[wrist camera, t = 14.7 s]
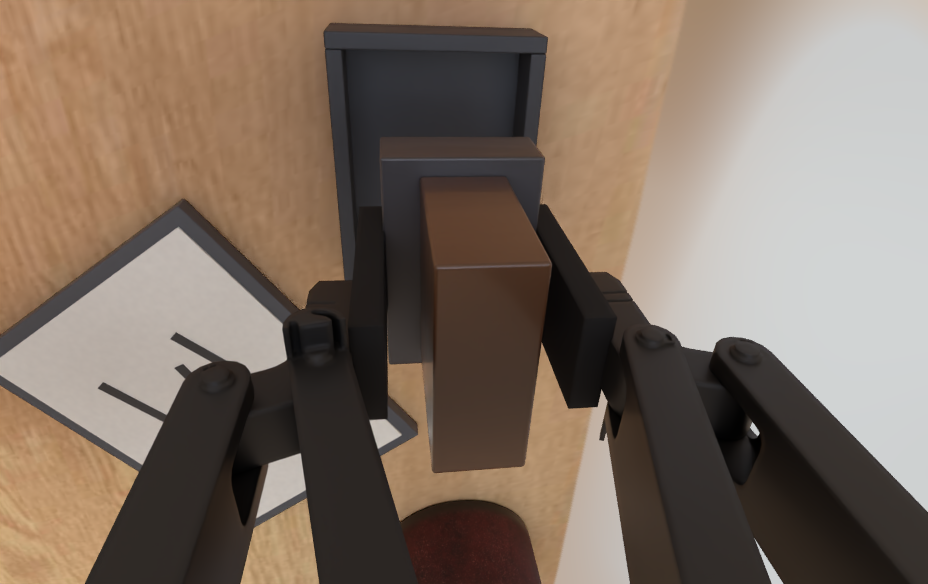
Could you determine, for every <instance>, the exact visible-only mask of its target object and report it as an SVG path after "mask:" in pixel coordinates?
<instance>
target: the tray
mask: <svg viewBox="0 0 928 584" xmlns="http://www.w3.org/2000/svg"><path fill="white" fill-rule="evenodd" d="M547 42H548V37H546V36H544V35H542V34H540V33H539V32H537V31H535V30H533V29H526V28H490V27H454V26H419V25H383V24H348V23H330V24H329V25H328V26H327V28H326V29H325V31H324V45H325V57H326V69H327V80H328V92H329V104H330V115H331V127H332V138H333V150H334V162H335V173H336V185H337V197H338V208H339V220H340V231H341V243H342V255H343V266H344V278H345V280H352V278H353V268H354V258H355V248H356V238H357V227H358V217H359V207H361V206H382V201H381V179H380V138H381V137H529V138H530V139H531V140H532V142H533V143H534V144H535V146H536V145H537V135H538V126H539V117H540V107H541V98H542V89H543V80H544V70H545V61H546V52H547Z"/></svg>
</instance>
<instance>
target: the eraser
mask: <svg viewBox="0 0 928 584" xmlns="http://www.w3.org/2000/svg"><path fill="white" fill-rule="evenodd" d="M544 163H545V158H544V156H543V155H542V154H541V152H540V151H539V150H538V148H537V147H536V146H535V144H534V143H533V142H532V140H531V139H530V138H529V137H381V138H380V179H381V201H382V223H383V231H384V246H385V270H386V295H387V333H388V355H389V363H390V364H409V363H422V369H423V380H424V390H425V401H426V412H427V423H428V433H429V444H430V455H431V465H432V471H433V472H434V473H443V472H456V471H469V470H483V469H496V468H509V467H522V466H524V465H525V459H526V452H527V445H528V437H529V430H530V423H531V416H532V408H533V401H534V394H535V386H536V379H537V372H538V364H539V357H540V350H541V342H542V335H543V328H544V321H545V313H546V306H547V299H548V291H549V284H550V277H551V269H552V263H551V261H550V259H549V257H548V255H547V253H546V251H545V249H544V247H543V245H542V244H541V242H540V240H539V238H538V236H537V234H536V229H537V223H538V215H539V206H540V198H541V189H542V180H543V172H544Z"/></svg>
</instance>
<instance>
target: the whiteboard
mask: <svg viewBox="0 0 928 584" xmlns="http://www.w3.org/2000/svg"><path fill="white" fill-rule="evenodd" d="M297 311H299V309H298V308H297V307H295V306H294V305H293V304H292V303H291V302H290V301H289V300H288V299H287V298H286V297H285V296H284V295H283V294H282V293H281V292H280V291H279V290H278V289H277V288H276V287H275V286H274V285H273V284H272V283H271V282H270V281H269V280H268V279H266V278H265V277H264V276H263V275H262V274H261V273H260V272H259V271H258V270H257V269H256V268H255V267H254V266H253V265H252V264H251V263H250V262H249V261H248V260H247V259H246V258H245V257H244V256H243V255H242V254H241V253H240V252H239V251H238V250H236V249H235V248H234V247H233V246H232V245H231V244H230V243H229V242H228V241H227V240H226V239H225V238H224V237H223V236H222V235H221V234H220V233H219V232H218V231H217V230H216V229H215V228H214V227H213V226H212V225H211V224H210V223H209V222H207V221H206V220H205V219H204V218H203V217H202V216H201V215H200V214H199V213H198V212H197V211H196V210H195V209H194V208H193V207H192V206H191V205H190V204H189V203H188V202H187V201H186V200H185V199H182V200H181V201H179V202H178V203H177V204H175V205H174V206H173V207H171V208H170V209H169V210H167V211H166V212H165V213H163V214H162V215H161V216H159V217H158V218H157V219H155V220H154V221H153V222H151V223H150V224H149V225H147V226H146V227H145V228H143V229H142V230H141V231H139V232H138V233H137V234H135V235H134V236H133V237H131V238H130V239H129V240H127V241H126V242H125V243H123V244H122V245H120V246H119V247H118V248H116V249H115V250H114V251H112V252H111V253H110V254H108V255H107V256H106V257H104V258H103V259H102V260H100V261H99V262H98V263H96V264H95V265H94V266H92V267H91V268H90V269H88V270H87V271H86V272H84V273H83V274H82V275H80V276H79V277H78V278H76V279H75V280H74V281H72V282H71V283H70V284H68V285H67V286H66V287H64V288H63V289H62V290H60V291H59V292H58V293H56V294H55V295H54V296H52V297H51V298H49V299H48V300H47V301H45V302H44V303H43V304H41V305H40V306H39V307H37V308H36V309H35V310H33V311H32V312H31V313H29V314H28V315H27V316H25V317H24V318H23V319H21V320H20V321H19V322H17V323H16V324H15V325H13V326H12V327H11V328H9V329H8V330H7V331H5V332H4V333H3V334H1V335H0V385H1V386H2V387H4V388H5V389H7V390H9V391H10V392H12V393H13V394H15V395H17V396H18V397H20V398H22V399H23V400H25V401H26V402H28V403H30V404H31V405H33V406H34V407H36V408H38V409H39V410H41V411H42V412H44V413H46V414H47V415H49V416H50V417H52V418H54V419H55V420H57V421H58V422H60V423H62V424H63V425H65V426H67V427H68V428H70V429H71V430H73V431H75V432H76V433H78V434H79V435H81V436H83V437H84V438H86V439H87V440H89V441H91V442H92V443H94V444H95V445H97V446H99V447H100V448H102V449H103V450H105V451H107V452H108V453H110V454H112V455H113V456H115V457H116V458H118V459H120V460H121V461H123V462H124V463H126V464H128V465H129V466H131V467H132V468H134V469H136V470H137V471H140V469H141V467H142V465H143V463H144V461H145V459H146V457H147V455H148V453H149V451H150V449H151V447H152V445H153V442H154V440H155V438H156V436H157V434H158V432H159V430H160V428H161V426H162V424H163V422H164V420H165V418H166V416H167V414H168V412H169V410H170V408H171V405H172V403H173V401H174V399H175V397H176V395H177V393H178V391H179V389H180V387H181V385H182V383H183V381H184V380H185V379H186V377H187V376H188V375H189V374H190V373H191V372H193V371H194V370H196V369H197V368H199V367H201V366H204V365H206V364H209V363H212V362H218V361H237V362H239V363H241V364H243V365H245V366H246V367H247V368H248V369H249V371H250V373H254V372H258V371H262V370H266V369H269V368H272V367H275V366H277V365H279V364H281V363H283V362H285V361H286V360H287V356H286V350H285V344H284V338H283V332H282V327H283V322H284V321H285V320H286V319H287V318H288V316H289V315H291V314H293V313H295V312H297ZM369 421H370V424H371V427H372V431H373V434H374V437H375V441H376V444H377V447H378V451H379V454H380V456H381V455H383V454H385V453H386V452H388V451H390V450H392V449H394V448H395V447H397V446H399V445H401V444H402V443H404V442H406V441H408V440H409V439H411V438H413V437H415V436H416V435H418V427H417V423H416V422H415V421H413V420H412V419H411V418H410V417H409V416H408V415H407V414H406V413H405V412H404V411H403V410H402V409H401V408H400V407H399V406H398V405H397V404H396V403H395V402H394V401H393V400H392V399H391V398H390V397H389V396H388V419H381V420H369ZM305 498H307V494H306V487H305V480H304V473H303V466H302V459H301V453H300V454H297V455H294V456H291V457H287V458H284V459H281V460H278V461H275V462H272V463H269V464H268V471H267V475H266V479H265V483H264V488H263V492H262V496H261V500H260V504H259V508H258V512H257V516H256V521H255V525H254V527H256V526H258V525H260V524H261V523H263V522H265V521H267V520H268V519H270V518H272V517H274V516H275V515H277V514H279V513H281V512H282V511H284V510H286V509H288V508H290V507H291V506H293V505H295V504H297V503H298V502H300V501H302V500H304V499H305Z"/></svg>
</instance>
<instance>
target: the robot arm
mask: <svg viewBox="0 0 928 584" xmlns="http://www.w3.org/2000/svg"><path fill="white" fill-rule="evenodd" d="M536 234H537V236H538V238H539V240H540V242H541V244H542V245H543V247H544V249H545V251H546V253H547V255H548V257H549V259H550V261H551V263H552V269H551V277H550V284H549V291H548V299H547V306H546V313H545V321H544V328H543V335H542V343H543V346H544V348H545V351H546V354H547V356H548V359H549V361H550V364H551V366H552V369H553V371H554V374H555V376H556V379H557V381H558V384H559V386H560V389H561V391H562V394H563V396H564V399H565V401H566V404H567V406H568V409H570V408H588V407H598V402H599V398H600V394H601V389H602V391H603V393H604V395H605V397H606V399H607V401H608V402H607V407H606V411H605V415H604V419H603V424H602V428H601V432H600V439H599V440H602V441H604V438H605V434H606V433H607V437H608V444H609V450H610V457H611V463H612V470H613V476H614V482H615V488H616V496H617V502H618V508H619V515H620V521H621V528H622V534H623V541H624V546H625V554H626V560H627V567H628V573H629V580H630V584H771V581H770V578H769V576H768V573H767V571H766V568H765V565H764V563H763V560H762V557H761V555H760V552H759V549H758V547H757V544H756V541H757V543H758V544H759V546H760V548H761V549H762V551H763V552H764V554H765V555H766V557H767V558H768V560H769V562H770V563H771V564H772V566H773V568H774V569H775V571H776V572H777V574H778V576H779V577H780V579H781V580H782V582H783V583H784V584H928V512H927V511H926V510H925V509H924V508H923V507H922V506H921V505H920V504H919V503H918V502H917V501H916V500H915V499H914V498H913V497H912V495H911V494H910V493H909V492H908V491H906V489H905V488H904V487H903V486H902V485H901V484H900V483H899V482H898V481H897V480H896V479H895V478H894V477H893V476H892V475H891V474H890V473H889V472H888V471H887V470H886V469H885V468H884V467H883V466H882V465H881V464H880V463H879V462H878V461H877V460H876V459H875V458H874V457H873V456H872V455H871V454H870V453H869V452H868V450H867V449H866V448H865V447H864V446H863V445H862V444H861V443H860V442H859V441H858V440H857V439H856V438H855V437H854V436H853V435H852V434H851V433H850V432H849V431H848V430H847V429H846V428H845V427H844V426H843V425H842V424H841V423H840V422H839V421H838V420H837V419H836V418H835V417H834V416H833V415H832V414H831V413H830V412H829V411H828V410H827V409H826V408H825V406H823V405H822V403H820V401H819V400H818V399H816V398H815V397H814V395H813V394H812V393H811V392H810V391H809V390H808V389H807V388H806V387H805V386H804V385H803V384H802V383H801V382H800V381H799V380H798V379H797V378H796V377H795V376H794V375H793V374H792V373H791V372H790V371H789V370H788V369H787V368H786V367H785V366H784V365H783V364H782V363H781V361H779V360H778V358H777V357H776V356H775V355H774V354H772V352H770V351H769V350H768V349H767V348H765V347H764V346H762V345H760V344H758V343H756V342H754V341H752V340H749V339H745V338H736V337H728V338H723V339H721V340H719V341H718V342H717V343H716V345H715V348H714V351H713V352H707V351H701V350H695V349H689V348H685V347H682V346H681V344H680V342H679V341H678V339H677V337H676V336H675V335H674V334H672V333H671V332H669V331H668V330H666V329H664V328H661V327H659V326H655V325H651V324H650V323H649V322H648V320H647V319H646V317H645V316H644V315H643V313H642V312H641V310H640V309H639V307H638V306H637V305H636V303H635V302H634V301H633V299H632V298H631V296H630V295H629V293H627V290H626V289H625V288H624V286H623V285H622V283H621V282H620V281H619V280H618V279H616V278H615V277H613V276H612V275H610V274H609V273H607V272H589V271H588V270H587V268H586V267H585V265H584V264H583V262H582V260H581V259H580V257H579V256H578V254H577V252H576V251H575V249H574V248H573V246H572V244H571V243H570V241H569V240H568V238H567V237H566V235H565V233H564V232H563V230H562V229H561V227H560V225H559V224H558V222H557V221H556V219H555V217H554V216H553V214H552V213H551V211H550V209H549V208H548V206H547V205H546V204H540V206H539V215H538V223H537V229H536ZM282 332H283V338H284V344H285V350H286V356H287V360H286V361H285V362H283V363H281V364H279V365H277V366H275V367H272V368H269V369H266V370H262V371H258V372H254V373H250V371H249V369H248V368H247V367H246V366H245V365H243V364H241V363H239V362H237V361H218V362H212V363H209V364H206V365H204V366H201V367H199V368H197V369H196V370H194V371H193V372H191V373H190V374H189V375H188V376H187V377H186V379H185V380H184V381H183V383H182V385H181V387H180V389H179V391H178V393H177V395H176V397H175V399H174V401H173V403H172V405H171V408H170V410H169V412H168V414H167V416H166V418H165V420H164V422H163V424H162V426H161V428H160V430H159V432H158V434H157V436H156V438H155V440H154V442H153V445H152V447H151V449H150V451H149V453H148V455H147V457H146V459H145V461H144V463H143V465H142V467H141V469H140V471H139V473H138V475H137V477H136V479H135V481H134V484H133V486H132V488H131V490H130V492H129V494H128V496H127V498H126V500H125V502H124V504H123V506H122V508H121V510H120V512H119V514H118V516H117V518H116V520H115V523H114V525H113V527H112V529H111V531H110V533H109V535H108V537H107V539H106V541H105V543H104V545H103V547H102V549H101V551H100V553H99V555H98V557H97V560H96V562H95V564H94V566H93V568H92V570H91V572H90V574H89V576H88V578H87V580H86V582H85V584H240V583H241V579H242V574H243V570H244V566H245V562H246V558H247V554H248V550H249V545H250V541H251V537H252V533H253V529H254V525H255V521H256V516H257V512H258V508H259V504H260V500H261V496H262V492H263V488H264V483H265V479H266V475H267V471H268V464H269V463H272V462H275V461H278V460H281V459H284V458H287V457H291V456H294V455H297V454H300V453H301V459H302V466H303V473H304V480H305V487H306V494H307V501H308V508H309V515H310V522H311V529H312V535H313V542H314V549H315V556H316V563H317V570H318V577H319V584H418V581H417V578H416V575H415V571H414V568H413V565H412V561H411V558H410V555H409V551H408V548H407V545H406V541H405V538H404V535H403V531H402V528H401V524H400V521H399V518H398V514H397V511H396V508H395V504H394V501H393V498H392V494H391V491H390V488H389V484H388V481H387V478H386V474H385V471H384V467H383V464H382V461H381V457H380V454H379V451H378V447H377V444H376V441H375V437H374V434H373V431H372V427H371V424H370V421H369V420H381V419H388V366H387V295H386V270H385V246H384V231H383V223H382V206H361V207H359V217H358V227H357V238H356V248H355V258H354V268H353V278H352V280H342V281H319V282H318V283H317V284H316V285H315V286H314V287H313V288H312V289H311V290H310V291H309V294H308V299H307V305H306V308H305V309H302V310H299V311H297V312H295V313H293V314H291V315H289V316H288V318H287V319H286V320H285V321H284V322H283V327H282ZM752 422H753V423H754V424H755V426H756V427H757V429H758V430H759V432H760V434H759V435H758V436H757V435H756V434H754V432H753V431H752V430H751V428H750V426H751V424H752ZM754 538H755V539H754ZM755 540H756V541H755Z"/></svg>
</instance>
